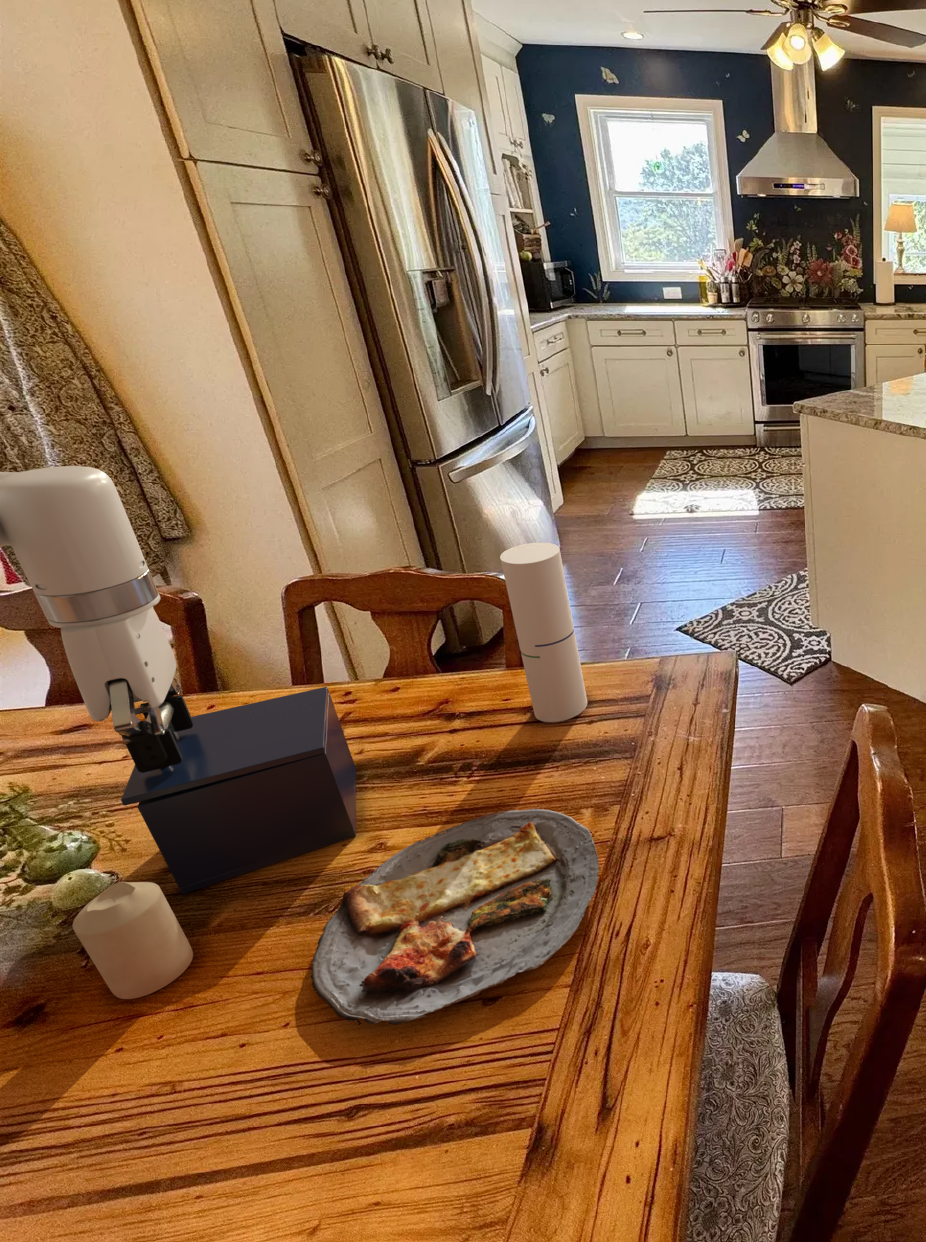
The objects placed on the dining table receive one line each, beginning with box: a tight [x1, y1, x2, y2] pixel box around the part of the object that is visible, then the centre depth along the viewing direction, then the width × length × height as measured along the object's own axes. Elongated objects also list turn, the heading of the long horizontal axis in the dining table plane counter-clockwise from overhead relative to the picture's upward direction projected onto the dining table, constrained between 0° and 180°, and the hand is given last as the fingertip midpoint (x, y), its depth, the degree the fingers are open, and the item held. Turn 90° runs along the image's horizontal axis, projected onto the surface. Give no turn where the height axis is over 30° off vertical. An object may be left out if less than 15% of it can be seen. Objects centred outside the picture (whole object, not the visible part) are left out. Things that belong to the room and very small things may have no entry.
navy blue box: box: [137, 692, 357, 895], centre depth 83 cm, size 15×14×12 cm
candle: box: [72, 881, 194, 1000], centre depth 67 cm, size 6×6×10 cm
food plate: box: [310, 808, 600, 1026], centre depth 75 cm, size 25×23×4 cm
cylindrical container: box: [499, 541, 588, 723], centre depth 103 cm, size 7×7×25 cm
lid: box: [120, 686, 330, 807], centre depth 79 cm, size 16×14×5 cm
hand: (167, 747), depth 77 cm, fingers closed on lid, 6 cm apart
